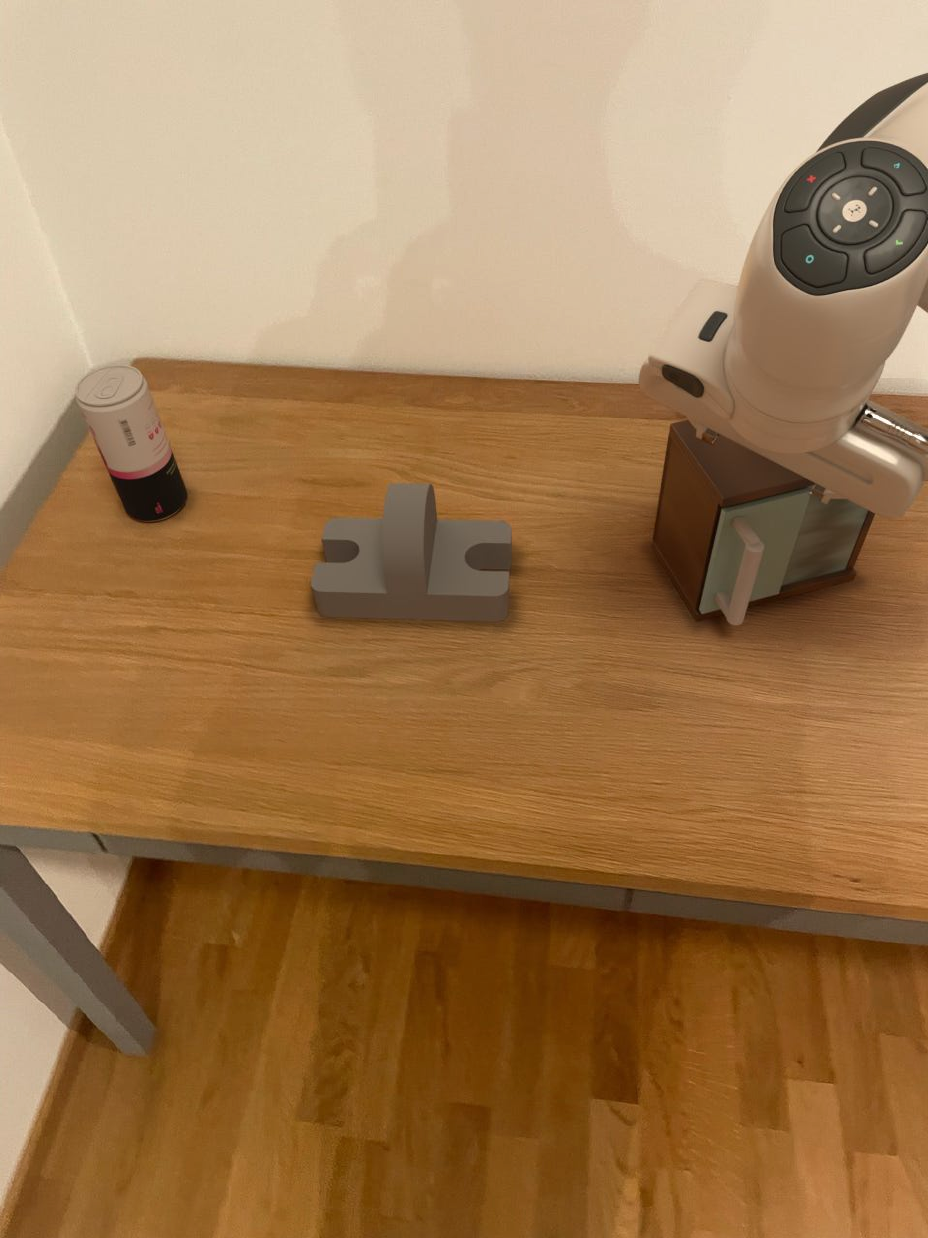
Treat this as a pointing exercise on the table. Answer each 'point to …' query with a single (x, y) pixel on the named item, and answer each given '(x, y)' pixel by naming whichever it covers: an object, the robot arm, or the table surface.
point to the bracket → (414, 564)
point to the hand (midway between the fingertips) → (765, 462)
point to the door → (752, 552)
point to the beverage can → (131, 441)
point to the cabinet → (735, 476)
